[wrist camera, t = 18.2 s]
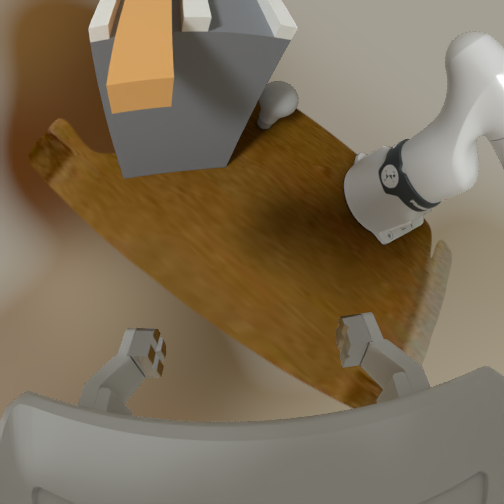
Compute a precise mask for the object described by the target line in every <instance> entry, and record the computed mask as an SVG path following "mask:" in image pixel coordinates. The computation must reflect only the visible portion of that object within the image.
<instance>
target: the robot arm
mask: <svg viewBox="0 0 504 504" xmlns="http://www.w3.org/2000/svg"><path fill="white" fill-rule="evenodd" d="M445 58H446V59H445V67H446V72H447V94H446V99H445V102H444V105H443V108H442V110H441V112H440V113H439V115H438V116H437V117H436V119H435V120H434V121H433V122H432V123H430V124H429V125H428V126H427V127H426V128H424V129H423V130H422V131H421V132H419V133H418V134H417V135H415V136H414V137H412V138H411V139H405V140H403V141H401V142H399V143H397V144H396V145H394V146H393V147H388V146H382V147H381V148H379V149H377V150H375V151H373V152H372V153H370V154H365V153H359V154H357V155H356V158H355V162H354V165H353V166H352V167H351V168H350V169H349V170H348V172H347V174H346V176H345V181H344V192H345V197H346V201H347V204H348V206H349V208H350V210H351V212H352V214H353V215H354V217H355V218H356V219H357V221H358V222H359V223H360V224H361V225H362V226H363V227H365V228H366V229H368V230H369V231H371V232H372V233H373V234H374V235H375V236H376V237H377V239H378V240H379V241H380V242H381V243H382V244H387V243H389V242H391V241H393V240H395V239H397V238H399V237H400V236H402V235H404V234H406V233H408V232H410V231H411V230H413V229H415V228H417V227H419V226H420V225H422V224H423V219H424V215H425V214H427V213H429V212H431V211H432V208H434V207H436V206H437V205H438V204H439V203H440V202H441V201H443V200H446V199H448V198H450V197H453V196H455V195H458V194H460V193H463V192H465V191H468V190H469V189H470V188H472V186H473V185H474V184H475V182H476V180H477V178H478V173H479V159H478V152H477V138H478V137H480V136H482V135H484V136H486V137H487V139H488V140H489V141H490V143H491V144H492V146H493V148H494V150H495V152H496V154H497V156H498V158H499V160H500V162H501V164H502V166H503V168H504V48H503V47H502V46H501V45H500V44H499V43H498V42H497V41H496V40H495V39H494V38H493V37H491V36H490V35H489V34H486V33H482V32H474V31H473V32H466V33H463V34H461V35H459V36H457V37H456V38H455V39H454V40H453V41H452V42H451V43H450V45H449V47H448V50H447V52H446V57H445ZM388 236H389V237H388ZM338 323H339V327H338V328H337V329H336V343H337V347H338V348H339V349H340V350H341V353H340V358H341V362H342V366H343V367H350V366H357V365H360V366H361V367H362V368H363V369H364V370H365V371H366V372H367V373H368V374H369V375H370V376H371V377H372V378H373V379H374V380H375V381H376V382H377V383H378V384H379V385H380V386H381V387H382V388H383V389H384V390H383V391H382V393H381V394H380V396H379V397H378V399H377V404H373V405H368V406H364V407H359V408H355V409H350V410H345V411H339V412H334V413H328V414H321V415H314V416H308V417H299V418H291V419H279V420H266V421H247V422H197V421H178V420H165V419H155V418H146V417H138V416H132V411H131V410H130V409H129V408H128V407H127V406H126V405H125V403H126V402H127V401H128V399H129V398H130V397H131V396H132V394H133V393H134V392H135V391H136V389H137V388H138V387H139V386H140V384H141V383H142V382H143V380H144V379H145V377H152V378H161V377H162V371H163V364H162V361H163V360H164V359H165V356H166V345H165V342H164V340H163V339H162V338H160V332H159V330H158V329H145V328H128V329H127V330H126V331H125V334H124V337H123V340H122V343H121V346H120V349H119V352H118V355H115V356H114V357H113V358H112V359H110V361H108V362H107V363H106V364H105V365H104V366H103V367H102V368H101V369H100V370H99V371H98V372H97V373H95V374H94V375H93V376H92V377H91V378H90V379H89V380H88V381H87V382H86V383H85V384H84V387H83V390H82V394H81V397H80V400H79V404H78V405H75V404H71V403H67V402H63V401H60V400H56V399H53V398H49V397H46V396H43V395H39V394H37V393H33V392H30V391H26V392H24V393H22V394H21V395H20V396H18V397H17V398H16V399H15V400H14V401H12V402H11V403H10V404H9V405H8V406H7V408H6V410H5V411H4V413H3V416H2V418H1V421H0V504H504V376H503V375H501V374H500V373H498V372H497V371H495V370H494V369H492V368H490V367H488V366H483V367H481V368H478V369H476V370H474V371H472V372H469V373H467V374H465V375H462V376H460V377H457V378H455V379H452V380H450V381H448V382H445V383H442V384H439V385H437V386H434V387H431V388H430V385H429V382H428V380H427V377H426V375H425V373H424V370H423V367H422V365H420V364H419V363H418V362H416V361H415V360H414V359H412V358H411V357H410V356H408V355H407V354H406V353H404V352H403V351H402V350H400V349H399V348H398V347H396V346H395V345H394V344H392V343H391V342H390V341H388V340H387V339H383V337H382V334H381V332H380V329H379V327H378V325H377V322H376V320H375V317H374V315H373V313H371V312H369V313H363V314H355V315H348V316H341V317H340V318H339V321H338Z"/></svg>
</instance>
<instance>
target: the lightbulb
mask: <svg viewBox="0 0 504 504" xmlns="http://www.w3.org/2000/svg"><path fill="white" fill-rule="evenodd" d="M259 103H260V107H261V111H260V113H259V118H258V121H257V124H258V126H259V127H260V128H262V129H268V128H270V127H271V126H272V124H273V123H275V122H276V121H277V120H278V119H279V118H283V117H286V116H288V115H290V114H291V113H293V112H294V111H295V109H296V108H297V105H298V95H297V92H296V90H295V89H294V88H293V87H292V86H291V85H290V84H288V83H285V82H282V81H275V82H271V83H269V84H267V85H266V86H265V88H264V90H263V92H262V94H261V96H260V98H259Z"/></svg>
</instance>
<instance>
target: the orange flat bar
mask: <svg viewBox="0 0 504 504" xmlns="http://www.w3.org/2000/svg"><path fill="white" fill-rule="evenodd" d="M173 83H174V68H173V46H172V0H125V2H124V5H123V8H122V12H121V16H120V19H119V23H118V27H117V31H116V36H115V40H114V45H113V49H112V55H111V60H110V65H109V71H108V78H107V84H106V87H107V92H108V97H109V102H110V107H111V112H112V114H114V113H121V112H127V111H134V110H142V109H150V108H160V107H171V104H172V93H173Z"/></svg>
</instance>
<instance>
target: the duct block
mask: <svg viewBox="0 0 504 504" xmlns="http://www.w3.org/2000/svg"><path fill="white" fill-rule="evenodd" d="M124 2H125V0H100V2H99V4H98V6H97V9H96V11H95V13H94V16H93V18H92V20H91V23H90V26H89V28H88V29H89V35H90V43H91V49H92V55H93V60H94V66H95V71H96V76H97V81H98V86H99V90H100V95H101V99H102V103H103V107H104V111H105V115H106V119H107V123H108V126H109V130H110V134H111V138H112V141H113V145H114V148H115V152H116V155H117V158H118V162H119V165H120V168H121V171H122V174H123V177H124V179H125V178H131V177H138V176H145V175H152V174H160V173H168V172H177V171H186V170H196V169H208V168H220V167H226V166H227V163H228V161H229V159H230V157H231V155H232V153H233V151H234V148H235V146H236V144H237V142H238V140H239V138H240V136H241V134H242V132H243V130H244V128H245V126H246V124H247V122H248V120H249V118H250V116H251V114H252V112H253V110H254V108H255V106H256V104H257V102H258V100H259V98H260V96H261V94H262V92H263V90H264V88H265V86H266V85H267V83H268V81H269V79H270V77H271V75H272V73H273V71H274V70H275V68H276V66H277V64H278V62H279V60H280V59H281V57H282V55H283V53H284V52H285V50H286V48H287V46H288V44H289V43H290V41H291V39H292V37H293V36H294V34H295V32H296V31H297V29H298V27H297V26H296V24H295V22H294V20H293V19H292V17H291V15H290V13H289V12H288V10H287V9H286V7H285V5H284V4H283V2H282V1H281V0H172V46H173V68H174V83H173V93H172V104H171V107H160V108H150V109H142V110H134V111H127V112H121V113H114V114H112V112H111V107H110V102H109V97H108V92H107V87H106V84H107V78H108V71H109V65H110V60H111V55H112V49H113V45H114V40H115V36H116V31H117V27H118V23H119V19H120V16H121V12H122V8H123V5H124Z"/></svg>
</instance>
